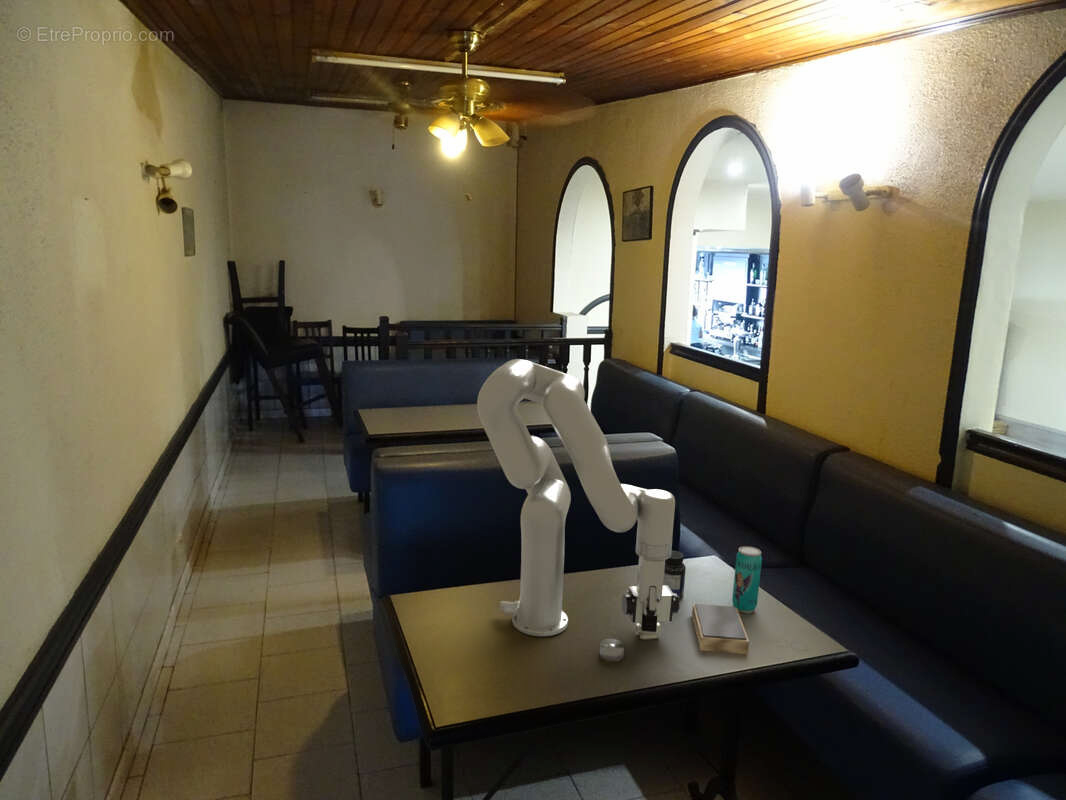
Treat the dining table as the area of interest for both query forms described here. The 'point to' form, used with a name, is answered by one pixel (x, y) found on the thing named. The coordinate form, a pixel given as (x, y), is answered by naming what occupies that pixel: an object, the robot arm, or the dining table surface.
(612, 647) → the steel spacer
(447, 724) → the dining table surface
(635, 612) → the pneumatic valve
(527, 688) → the dining table surface
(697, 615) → the framed panel
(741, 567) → the beverage can
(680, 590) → the pill bottle
